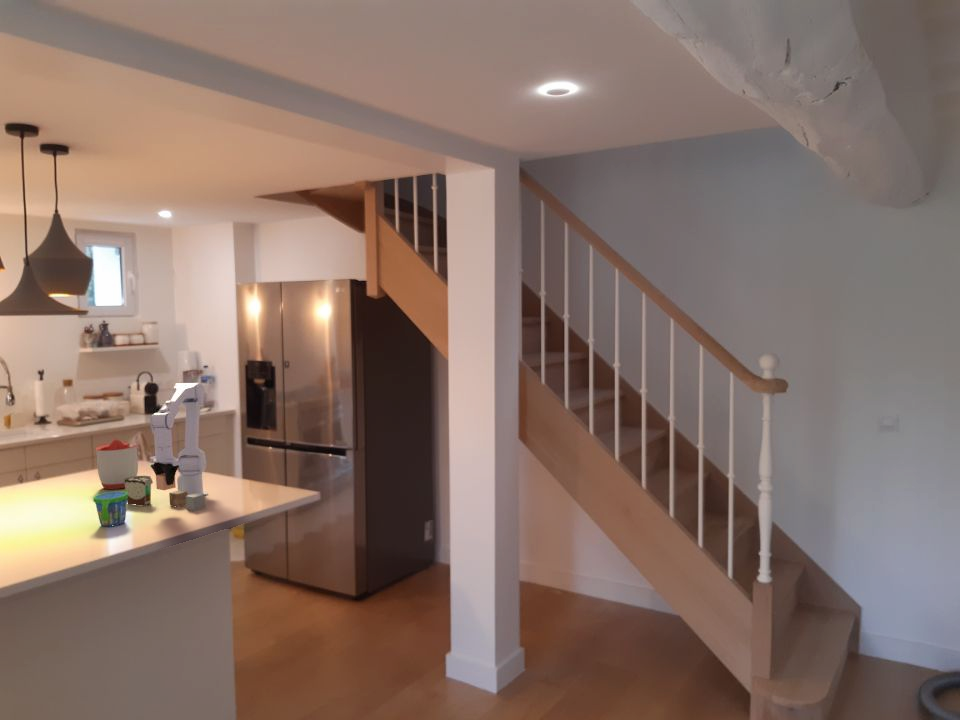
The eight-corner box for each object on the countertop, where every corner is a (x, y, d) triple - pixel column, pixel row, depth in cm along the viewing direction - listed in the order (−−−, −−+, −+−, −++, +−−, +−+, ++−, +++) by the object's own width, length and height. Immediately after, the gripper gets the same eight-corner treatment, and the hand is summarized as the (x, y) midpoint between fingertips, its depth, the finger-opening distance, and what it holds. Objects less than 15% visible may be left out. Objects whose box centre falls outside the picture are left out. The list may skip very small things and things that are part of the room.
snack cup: (119, 530, 243) (117, 500, 242) (86, 531, 242) (84, 501, 241) (137, 516, 258) (135, 488, 257) (106, 518, 257) (104, 489, 256)
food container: (161, 502, 276) (159, 476, 276) (148, 506, 271) (146, 480, 270) (138, 499, 282) (136, 474, 281) (124, 504, 276) (122, 477, 275)
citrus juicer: (151, 483, 309) (148, 436, 307) (112, 492, 294) (108, 443, 292) (129, 479, 317) (126, 433, 315) (90, 488, 302) (86, 440, 301)
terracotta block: (156, 488, 261) (155, 475, 261) (168, 486, 265) (167, 472, 265) (164, 490, 259) (163, 476, 258) (175, 487, 263) (174, 473, 262)
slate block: (186, 509, 266) (185, 496, 266) (197, 506, 270) (196, 493, 269) (194, 511, 263) (193, 497, 263) (205, 508, 267) (204, 494, 267)
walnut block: (170, 506, 271) (169, 492, 271) (180, 503, 275) (180, 490, 275) (177, 507, 269) (176, 494, 269) (188, 504, 273) (187, 491, 272)
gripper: (141, 446, 262) (143, 483, 263) (165, 449, 254) (167, 488, 255) (159, 443, 267) (161, 479, 268) (183, 446, 259) (185, 484, 260)
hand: (165, 483), depth 262 cm, fingers closed on terracotta block, 4 cm apart
